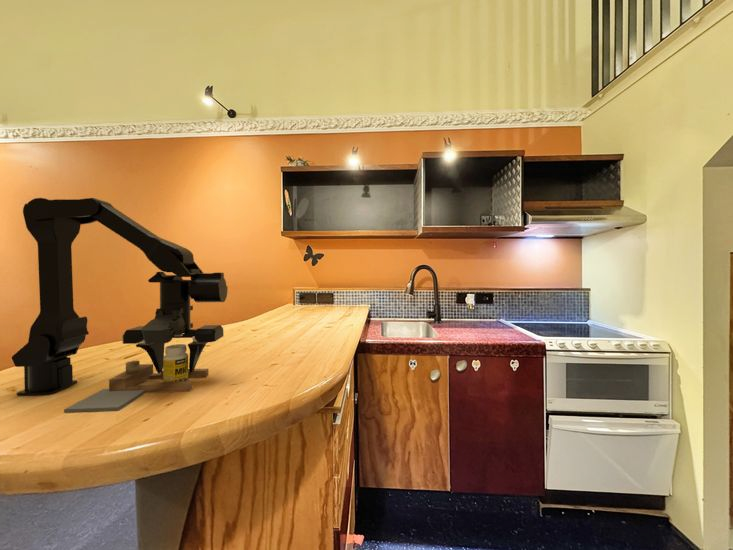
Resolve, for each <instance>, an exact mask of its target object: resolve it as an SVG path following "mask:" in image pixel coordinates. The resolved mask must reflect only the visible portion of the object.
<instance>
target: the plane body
mask: <svg viewBox="0 0 733 550" xmlns="http://www.w3.org/2000/svg"><path fill="white" fill-rule="evenodd" d="M208 376H209V368H195V369H194V371H193V372H190V371H189V368H188V379H190V378H191V379H194V378H195V379H196V378H197V379H198V378H207V377H208ZM160 379H161V380H163V370H162V372H161V373H157V372H155V373H154V364H153V363H151V364H148V363H146V364H140V360H130V361H126V362H125V370H124V371H123V372H121V373H120V374H117V375H115V376H113V377H111V378H109V379H108V387H109V388H108V389H109V391H126V390H146V393H151V394H152V393H172V392H173V393H175V392H191V390H193V389H194V388H193V387H194V386H193V385H194V382H193V380H188V381H174V382H163V381H149V380H160ZM147 381H148V382H147ZM146 393H145V394H146Z"/></svg>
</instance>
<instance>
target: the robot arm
mask: <svg viewBox="0 0 733 550" xmlns="http://www.w3.org/2000/svg"><path fill="white" fill-rule="evenodd" d="M22 216H23V218H24V219H23V220H24V223H25V227H26V229H27V231H28V232H29V234H31V236H32V238H34V240H35V241H36V244H37V265H38V285H39V286H38V289H39V290H38V293H39V310H40V311H39V314H38V315H37V317H36V318H35V320H34V321H33V322H32V325H31V326H30V328H29V333H28V334H29V335H28V339H27V342H26V344H24V345H23V346H22V347H21V348H20V349H19V350H18V351H16V352H15V353H14V354H13V355H12V356H11V360H12V362H13V364H14V367H16V368H20V367H21V368H22V367H23V371H24V372H23V373H24V374H23V375H24V377H23V379H24V382H23V383H24V389H23V390H19V391H18V392H16V396H32V395H33V396H34V395H51V394H55V393H56V392H59V391H61V390H64V389H65V388H68V387H70V386H72V385H75V384H77V383H78V380H77V379H76V380H75V379H74V377H73V372H74V371H73V364H71V361H72V360H71V357H70V356H74V355H76V354H77V353H78V351H79V349H80V346H81V345H83V343H84V342H85V340H86V336H88V335H89V334H90V332H89V330H88V317H87V316H81V317H80V316H79V314H77V312H76V311H75V308H74V285H73V283H74V282H73V257H72V244H73V243H74V241H75V240H76V238H77V236H79V234H80V231H81V226H82V225H87V224H93V223H97V222H98V223H100V224H101V225H103V226H104V227H105V228H107V229H108V230H110V231H111V232H114V233H115V234H117V235H118V236H120V237H121V238H122V239H124V240H126V241H127V242H129V243H131V244H132V245H133V246H135V247H137V248H138V249H139V250H141V252H142V253H144V255H145V257H146V258H147V260H148V261H150V262H151V264H153V265H154V266H155V267H156V268H157V269H158V270H159V271H157V272H155V274H154V275H153V276H152V277H150V278H149V279H148V280H147V281H148V283H150V284H151V283H155V284H157V283H158V284H159V307H158V308H156V310H155V315H154V318H153V319H151V320H150V321H148V322H147V323H146V324H145V325H139V326H136V327H132V328H130V329H129V328H127V329H125V331H124V332H123V334H122V344H124V345H127V344H128V345H131V344H135V347H136V348H141V349H143V350H144V351H145V352H146V353H147V355H148V356H149V358H150V360H151V362H152V364H153V367H154V368H155V370H156V373H161V372H162V371H163V358H164V356H165V344H168V343H170V342H172V340H173V339H188V338H189V339H192V341H191V342H189V343H188V344H187V347H188V349H189V357H188V369H189V371H190V372H193V371H194V369H196V366H197V364H198V361H199V359H200V357H201V355H202V352H203V350H204V348H205V347H206V345H207V344H208V343H214V342H216V341H219V340H220V339H221V338H223V337H224V327H223V326H222V325H221V324H206V325H203V326H200V327H198V328H196V329H195V328H194V322H191V311H193V310H194V305H191V300H193V301H194V302H195V303H224V302H226V300H227V297H228V291H229V290H228V288H229V287H228V285H227V281H226V279H225V273H224V272H212V273H211V272H210V273H209V272H208V273H204V272H203V271H202V270H203V269H201V268H200V267H199V265H198V264H197V263H196V262H195V258H194V254H193V252H192V251H191V250H190V249H188V248H186V247H184V246H182V245H180V244H177V243H175V242H172V241H170V240H167V239H164V238H162V237H160V236H158V235H156V234H155V233H153V232H152V231H151V230H149V229H147V228H146V227H144V226H143V225H141V224H140V223H138V222H136V221H135V219H132V218H131V217H129V216H128V215H126V214H124V213H123V212H121V211H120V210H119V209H117V208H116V207H114V206H113V205H112V203H110V202H108V201H105V200H102V199H98V198H94V197H87V198H80V199H77V198H75V199H65V198H62V199H59V198H58V199H57V198H56V199H49V198H43V197H36V198H32V199H31V200H29V201H28V202H27V203H25V204H23V207H22ZM166 273H173V274H166ZM183 278H190V279H183Z"/></svg>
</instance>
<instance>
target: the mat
mask: <svg viewBox="0 0 733 550" xmlns="http://www.w3.org/2000/svg"><path fill="white" fill-rule="evenodd" d="M145 394H146V390H126V391H109V388H102V389H101V390H98V391H97V392H95V393H92V394H91V395H89V396H87V397H85V398H83V399H81V400H79V401H77V402H76V403H73V404H72V405H69V406H68V407H66V408H64V409H63V413H64V414H65V413H66V414H67V413H68V414H69V413H90V412H111V411H112V412H113V411H114V412H115V411H117V412H118V411H120V410H122V409H123V408H125V407H126V406H127V405H129V404H131V403H133V402H134V401H136V400H137V399H139V398H140V397H141V396H144V395H145Z"/></svg>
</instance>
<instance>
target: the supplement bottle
mask: <svg viewBox="0 0 733 550" xmlns="http://www.w3.org/2000/svg"><path fill="white" fill-rule="evenodd" d="M187 349H188V348H187V344H185V343H178V344H171V345H167V346H166V347H164V358H163V370H162V371H163V379H162V382H174V381H189V378H188V369H189V354H188V353H187Z"/></svg>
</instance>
